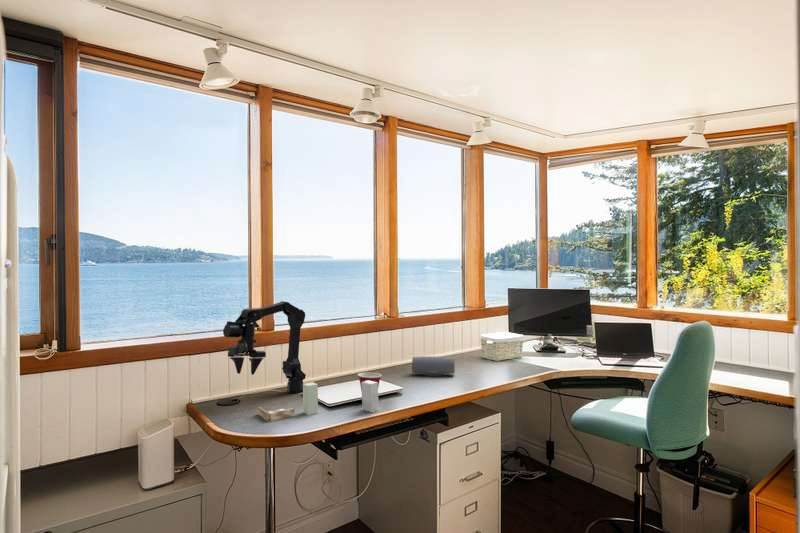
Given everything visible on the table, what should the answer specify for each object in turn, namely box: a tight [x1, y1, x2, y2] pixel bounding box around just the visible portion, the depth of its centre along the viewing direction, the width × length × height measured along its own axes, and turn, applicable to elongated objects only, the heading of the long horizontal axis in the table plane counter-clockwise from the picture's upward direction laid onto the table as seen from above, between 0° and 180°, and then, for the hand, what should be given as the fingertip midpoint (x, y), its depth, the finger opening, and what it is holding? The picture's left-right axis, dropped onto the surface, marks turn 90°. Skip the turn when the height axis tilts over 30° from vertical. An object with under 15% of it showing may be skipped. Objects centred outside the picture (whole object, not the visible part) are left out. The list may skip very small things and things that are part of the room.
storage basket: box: [480, 331, 525, 362], centre depth 307 cm, size 24×16×15 cm
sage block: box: [302, 381, 319, 416], centre depth 201 cm, size 4×4×12 cm
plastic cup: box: [357, 372, 382, 392], centre depth 218 cm, size 11×11×12 cm
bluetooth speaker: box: [411, 356, 456, 377], centre depth 264 cm, size 23×9×10 cm, turn 84°
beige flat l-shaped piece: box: [257, 406, 295, 422], centre depth 198 cm, size 11×11×3 cm
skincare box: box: [360, 380, 380, 413], centre depth 204 cm, size 6×4×12 cm
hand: (245, 374), depth 210 cm, fingers open, 9 cm apart
